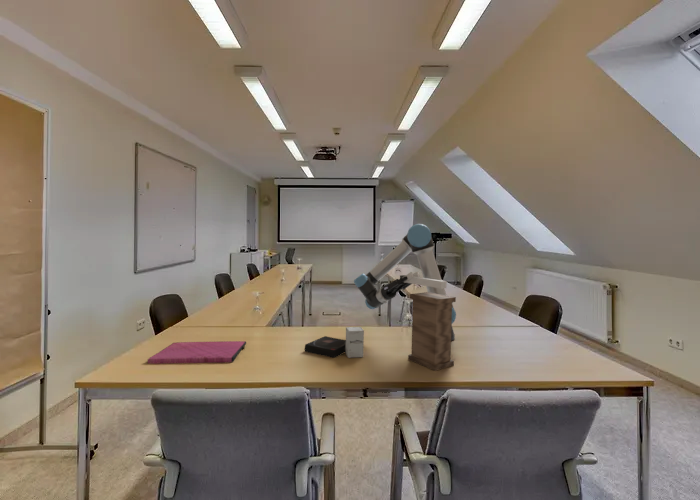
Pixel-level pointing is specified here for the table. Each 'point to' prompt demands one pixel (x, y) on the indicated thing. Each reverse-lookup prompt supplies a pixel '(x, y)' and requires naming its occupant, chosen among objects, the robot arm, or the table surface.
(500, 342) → the table surface
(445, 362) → the stand
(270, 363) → the table surface
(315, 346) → the portable cd player
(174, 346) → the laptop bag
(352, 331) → the supplement box
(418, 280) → the white long bar
